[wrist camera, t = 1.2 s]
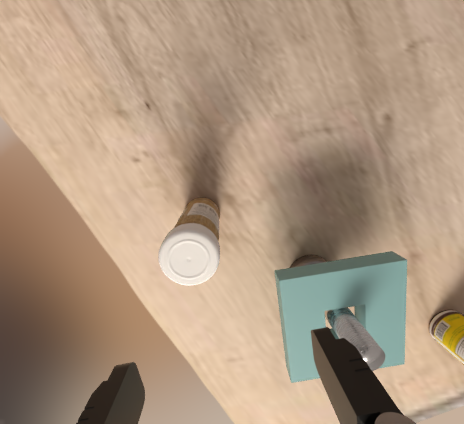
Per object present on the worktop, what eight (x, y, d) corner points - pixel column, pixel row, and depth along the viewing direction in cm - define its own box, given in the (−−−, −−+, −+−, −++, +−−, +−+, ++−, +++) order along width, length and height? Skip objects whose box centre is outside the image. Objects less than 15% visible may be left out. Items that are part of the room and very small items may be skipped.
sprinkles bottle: (177, 212, 30) (143, 257, 17) (204, 189, 30) (190, 217, 17) (201, 238, 31) (186, 299, 18) (227, 216, 31) (232, 262, 18)
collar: (274, 270, 24) (279, 280, 22) (392, 251, 24) (407, 259, 22) (286, 366, 27) (291, 382, 25) (391, 348, 27) (404, 364, 25)
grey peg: (285, 258, 32) (332, 334, 19) (329, 251, 32) (407, 322, 19) (290, 297, 34) (336, 393, 20) (331, 290, 34) (405, 381, 20)
